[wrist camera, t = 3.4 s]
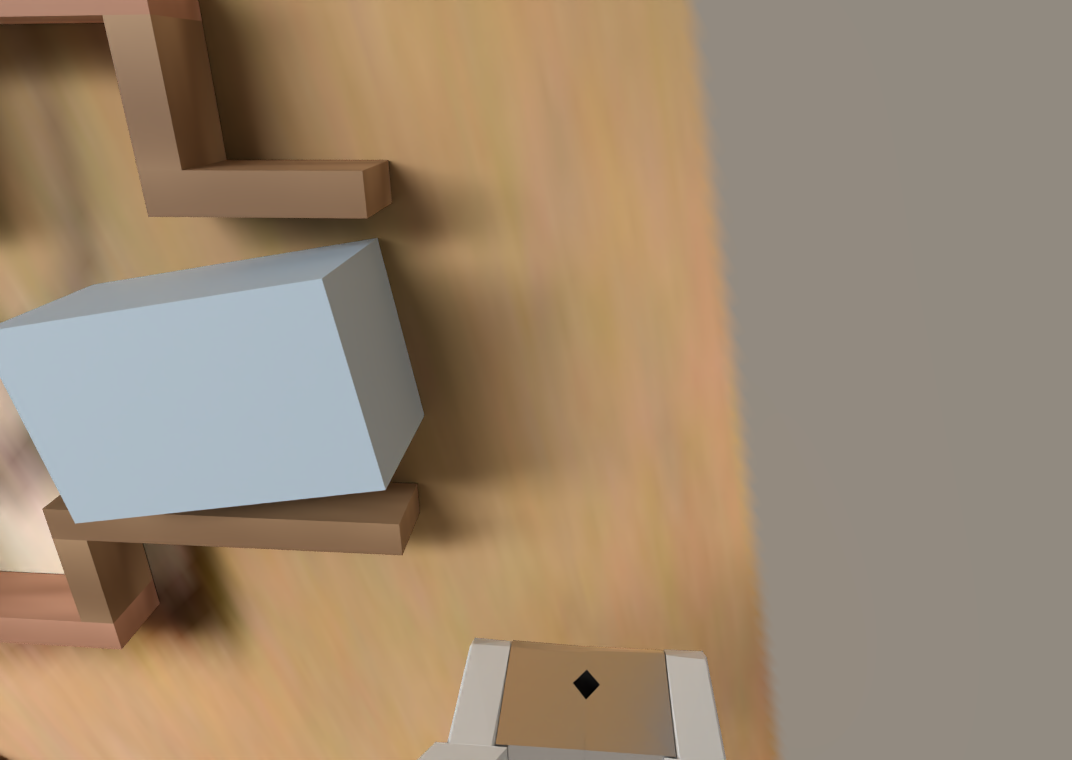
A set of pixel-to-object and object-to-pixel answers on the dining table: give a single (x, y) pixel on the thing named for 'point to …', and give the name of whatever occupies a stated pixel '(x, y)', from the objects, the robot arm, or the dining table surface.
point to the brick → (217, 384)
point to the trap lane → (190, 191)
